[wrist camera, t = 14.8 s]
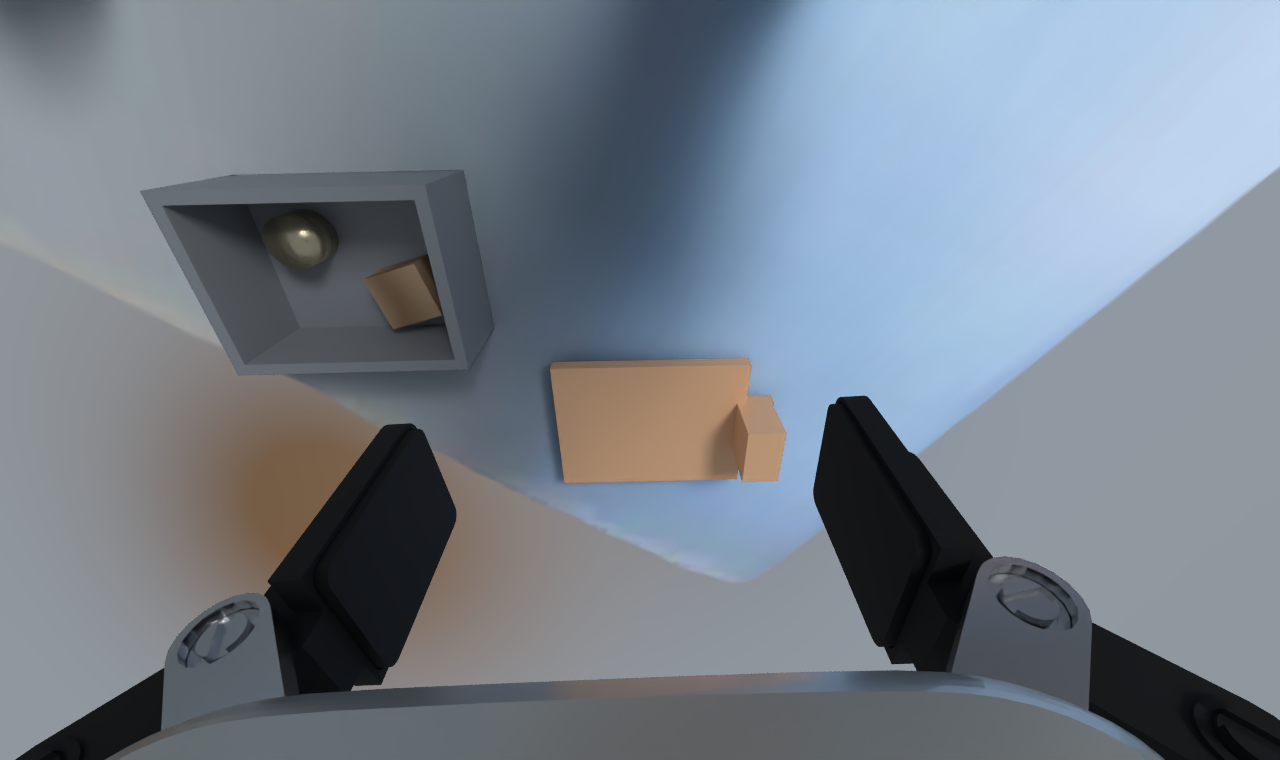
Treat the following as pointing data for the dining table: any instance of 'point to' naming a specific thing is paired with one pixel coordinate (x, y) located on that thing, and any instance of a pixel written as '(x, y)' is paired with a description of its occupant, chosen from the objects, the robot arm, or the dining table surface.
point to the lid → (664, 421)
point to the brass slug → (300, 238)
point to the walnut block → (406, 292)
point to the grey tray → (329, 269)
